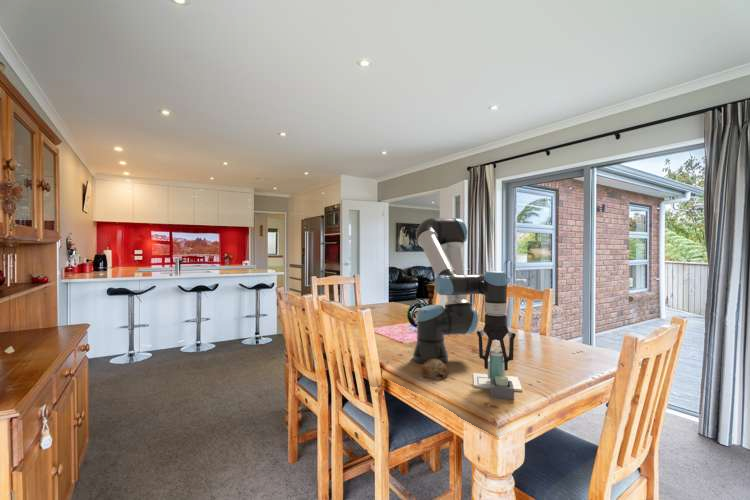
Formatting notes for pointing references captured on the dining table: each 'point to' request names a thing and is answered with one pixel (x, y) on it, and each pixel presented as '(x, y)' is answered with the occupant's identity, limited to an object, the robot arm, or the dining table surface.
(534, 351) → the dining table surface
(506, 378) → the button
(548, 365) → the dining table surface
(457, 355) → the dining table surface
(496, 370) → the white-capped teal capsule
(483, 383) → the sheet
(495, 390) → the button housing
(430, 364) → the bread roll
